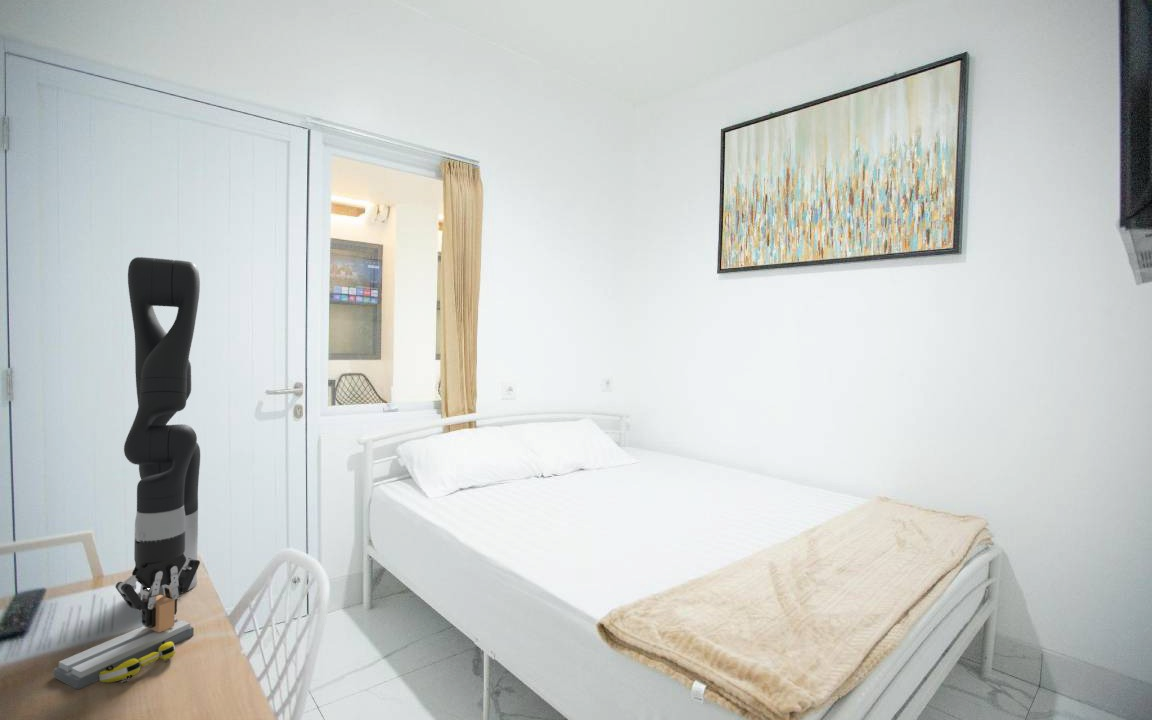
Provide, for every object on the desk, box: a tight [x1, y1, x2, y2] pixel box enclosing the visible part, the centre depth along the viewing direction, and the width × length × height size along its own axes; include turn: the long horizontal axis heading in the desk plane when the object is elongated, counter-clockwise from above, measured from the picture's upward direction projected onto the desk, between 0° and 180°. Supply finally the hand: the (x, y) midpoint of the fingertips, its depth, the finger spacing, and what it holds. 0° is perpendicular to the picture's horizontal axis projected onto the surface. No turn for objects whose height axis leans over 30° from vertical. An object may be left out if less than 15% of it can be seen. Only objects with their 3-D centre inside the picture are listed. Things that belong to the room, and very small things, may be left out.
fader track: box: [53, 617, 194, 690], centre depth 97 cm, size 18×7×3 cm, turn 157°
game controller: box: [99, 641, 176, 684], centre depth 93 cm, size 10×6×4 cm, turn 157°
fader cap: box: [144, 595, 176, 632], centre depth 101 cm, size 3×4×6 cm, turn 67°
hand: (159, 622), depth 101 cm, fingers closed on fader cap, 2 cm apart
